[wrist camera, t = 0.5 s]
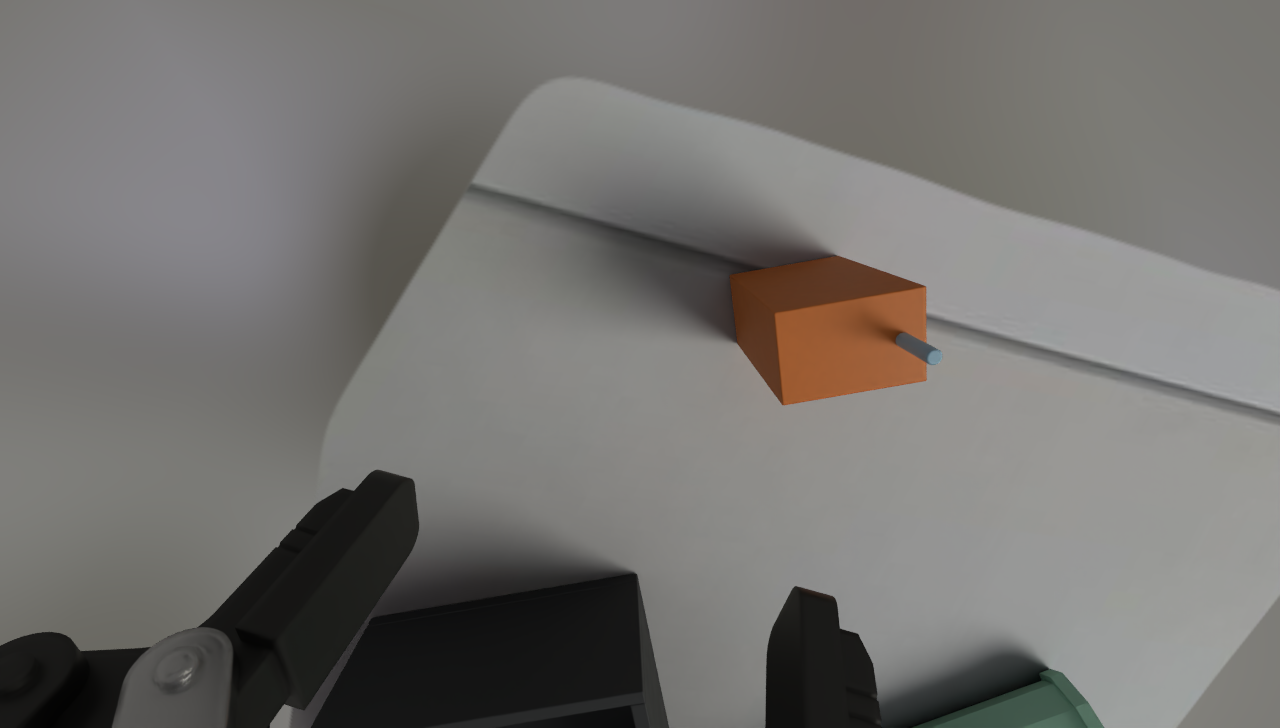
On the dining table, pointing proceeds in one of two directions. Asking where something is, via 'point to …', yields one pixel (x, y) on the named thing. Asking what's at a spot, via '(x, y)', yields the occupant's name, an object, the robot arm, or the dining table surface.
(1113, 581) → the dining table surface
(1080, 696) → the container
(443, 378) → the dining table surface
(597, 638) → the bin
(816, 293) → the juice box
